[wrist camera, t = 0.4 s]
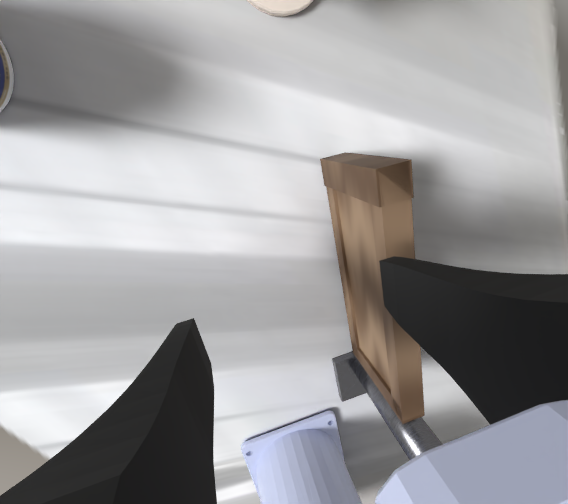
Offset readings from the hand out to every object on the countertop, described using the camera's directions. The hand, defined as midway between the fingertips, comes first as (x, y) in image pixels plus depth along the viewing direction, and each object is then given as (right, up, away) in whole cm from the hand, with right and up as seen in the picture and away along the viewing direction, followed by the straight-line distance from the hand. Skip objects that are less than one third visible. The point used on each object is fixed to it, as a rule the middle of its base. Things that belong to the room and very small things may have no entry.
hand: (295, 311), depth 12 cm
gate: (+4, +1, +10) cm, 11 cm away
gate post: (+6, -7, +14) cm, 17 cm away
